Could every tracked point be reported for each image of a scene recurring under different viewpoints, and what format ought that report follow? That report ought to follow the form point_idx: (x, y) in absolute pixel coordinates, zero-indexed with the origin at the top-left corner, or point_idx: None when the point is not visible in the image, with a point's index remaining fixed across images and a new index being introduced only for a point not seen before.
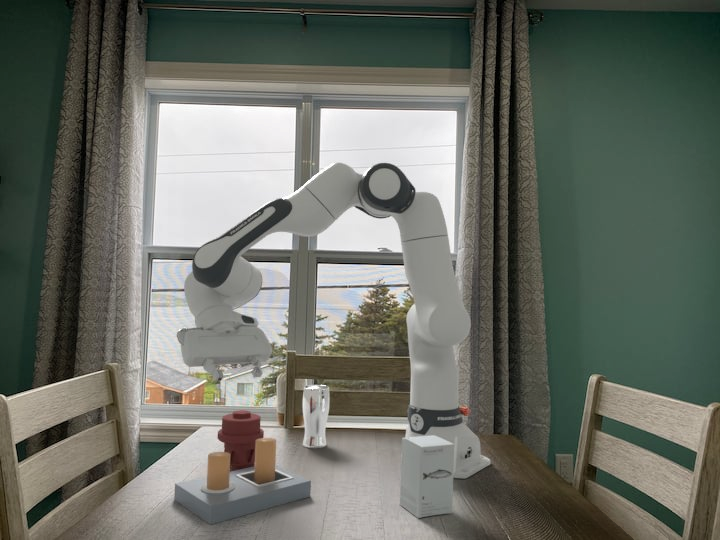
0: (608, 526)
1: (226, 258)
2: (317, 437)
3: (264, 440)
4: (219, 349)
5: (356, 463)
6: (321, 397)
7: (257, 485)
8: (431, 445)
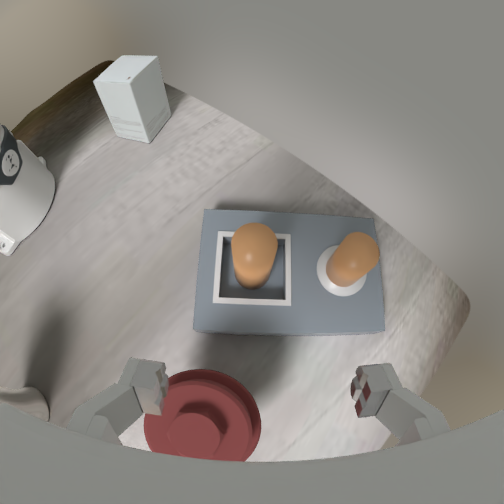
0: (99, 64)
1: None
2: (27, 393)
3: (257, 244)
4: (394, 489)
5: (52, 285)
6: None
7: (288, 237)
8: (144, 56)
